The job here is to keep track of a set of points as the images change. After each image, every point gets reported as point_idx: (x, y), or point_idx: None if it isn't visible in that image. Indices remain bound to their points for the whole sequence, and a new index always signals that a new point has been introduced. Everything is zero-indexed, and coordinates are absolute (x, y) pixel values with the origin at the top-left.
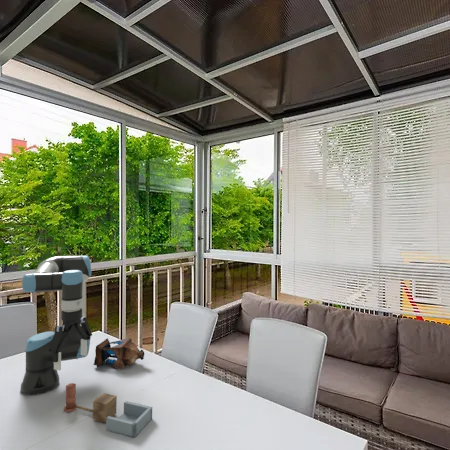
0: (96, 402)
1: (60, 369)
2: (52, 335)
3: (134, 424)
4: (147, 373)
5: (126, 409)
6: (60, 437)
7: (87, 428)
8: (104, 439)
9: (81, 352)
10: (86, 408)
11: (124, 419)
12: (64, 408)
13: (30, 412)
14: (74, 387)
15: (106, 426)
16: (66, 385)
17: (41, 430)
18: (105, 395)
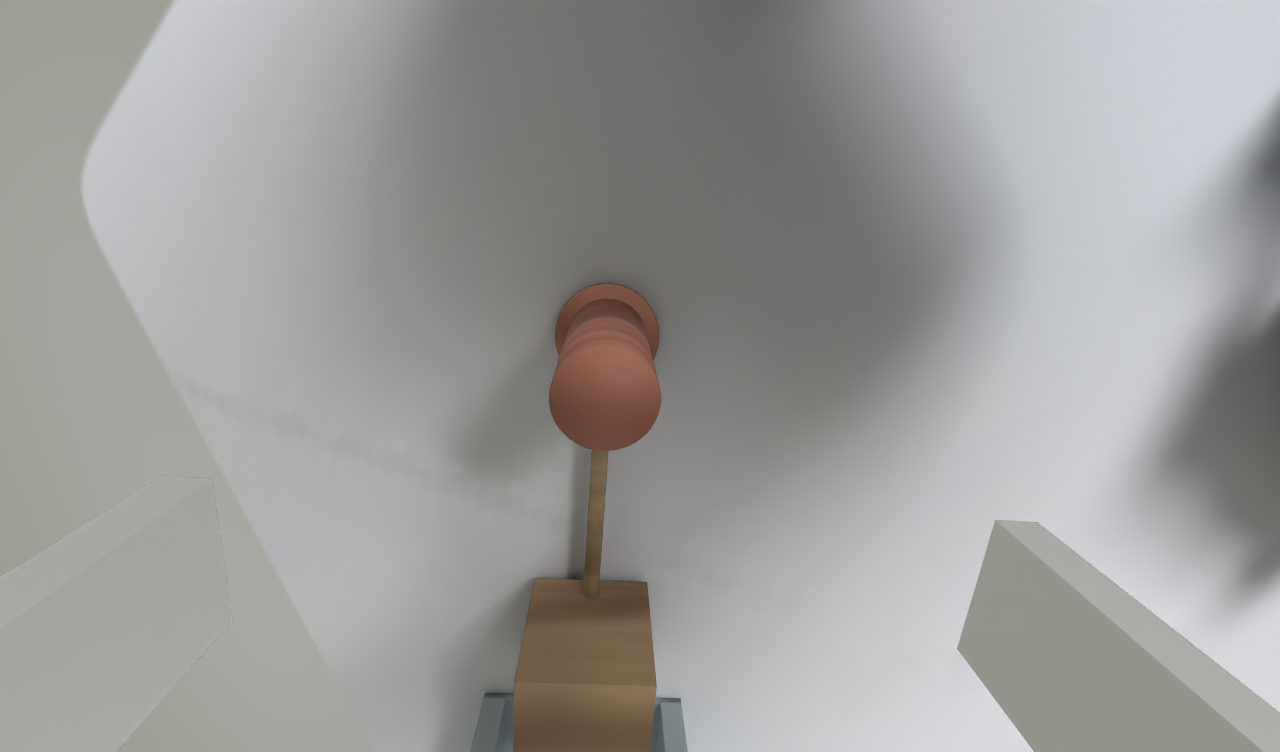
0: (515, 706)
1: (218, 623)
2: None
3: None
4: (1216, 585)
5: (660, 745)
6: (317, 495)
7: (458, 589)
8: (413, 726)
9: (1035, 580)
10: (594, 500)
11: None
12: (570, 304)
13: (453, 9)
14: (599, 446)
15: (480, 714)
16: (589, 347)
17: (313, 316)
18: (623, 718)
